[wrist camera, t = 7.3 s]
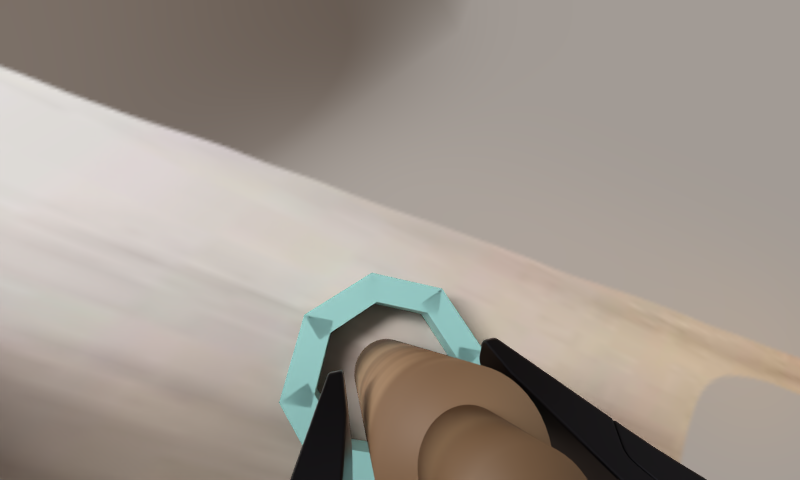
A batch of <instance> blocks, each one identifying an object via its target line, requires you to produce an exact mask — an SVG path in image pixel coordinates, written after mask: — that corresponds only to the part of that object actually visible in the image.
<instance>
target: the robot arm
mask: <svg viewBox="0 0 800 480" xmlns="http://www.w3.org/2000/svg"><path fill="white" fill-rule="evenodd" d="M479 360H480V365H482V366H485V367H489V368H492V369H494V370H496V371H498V372H501V373H502V374H504V375H505V376H507V377H509V378H510V379H511V380H513V381H514V382H515V383H516V384H517V385H519V386H520V387H521V388H522V389H523V391H524V392H525V393H526V394H527V395H528V396H529V398H530V399H531V400H532V402H533V403H534V404H535V406H536V408H537V410H538V411H539V413H540V415H541V417H542V419H543V422H544V424H545V426H546V429H547V432H548V435H549V438H550V443H551V447H553V448H555V449H557V450H558V451H560V452H561V453H563V454H565V455H566V456H567V457H568V458H569V459H571V460H572V461H573V462H574V463H575V464H576V465H577V466H578V467H579V469H580V470H581V471H582V473H583V474H584V475H585V477H586V478H587V480H706V479H705V478H703V477H701V476H700V475H698V474H697V473H695V472H693V471H692V470H690V469H688V468H686V467H685V466H683V465H682V464H680V463H679V462H677V461H675V460H674V459H672V458H671V457H669V456H667V455H666V454H664V453H663V452H661V451H659V450H658V449H656V448H655V447H653V446H652V445H650V444H649V443H647V442H646V441H644V440H643V439H641V438H640V437H638V436H637V435H635V434H634V433H632V432H631V431H629V430H628V429H626V428H625V427H624V426H622V425H621V424H619V423H618V422H616V421H613V420H612V418H610V417H609V416H608V415H606V414H605V413H603V412H602V411H600V410H599V409H598V408H596V407H595V406H593V405H592V404H590V403H589V402H587V401H586V400H585V399H583V398H582V397H580V396H579V395H577V394H576V393H575V392H573V391H572V390H570V389H569V388H567V387H566V386H564V385H563V384H562V383H560V382H559V381H557V380H556V379H554V378H553V377H551V376H550V375H549V374H547V373H546V372H544V371H543V370H541V369H540V368H539V367H537V366H536V365H534V364H533V363H531V362H530V361H528V360H527V359H526V358H524V357H523V356H521V355H520V354H518V353H517V352H516V351H514V350H513V349H511V348H510V347H508V346H507V345H505V344H504V343H503V342H501V341H500V340H498V339H496V338H491V339H486V340H484V341H483V342H482V346H481V351H480V356H479ZM290 480H353V457H352V442H351V432H350V423H349V414H348V405H347V396H346V387H345V380H344V373H343V371H342V370H338V371H333V372H330V373H329V374H328V375H327V378H326V381H325V383H324V386H323V389H322V392H321V395H320V398H319V400H318V403H317V406H316V409H315V412H314V414H313V417H312V420H311V423H310V426H309V429H308V431H307V434H306V437H305V440H304V443H303V445H302V448H301V451H300V454H299V457H298V460H297V462H296V465H295V468H294V471H293V474H292V476H291V479H290Z"/></svg>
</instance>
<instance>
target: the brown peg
mask: <svg viewBox="0 0 800 480" xmlns="http://www.w3.org/2000/svg"><path fill="white" fill-rule="evenodd" d="M354 375H355V382H356V387H357V393H358V398H359V403H360V408H361V413H362V418H363V423H364V428H365V433H366V438H367V443H368V448H369V453H370V458H371V463H372V468H373V473H374V478H375V480H587V478H586V477H585V475H584V474H583V473H582V471H581V470H580V469H579V467H578V466H577V465H576V464H575V463H574V462H573V461H572V460H571V459H569V458H568V457H567V456H566V455H565V454H563V453H561V452H560V451H558V450H557V449H555V448H553V447H551V443H550V438H549V435H548V432H547V429H546V426H545V424H544V422H543V419H542V417H541V415H540V413H539V411H538V410H537V408H536V406H535V404H534V403H533V402H532V400H531V399H530V398H529V396H528V395H527V394H526V393H525V392H524V391H523V389H522V388H521V387H520V386H519V385H517V384H516V383H515V382H514V381H513V380H511V379H510V378H509V377H507V376H505V375H504V374H502V373H501V372H498V371H496V370H494V369H492V368H489V367H485V366H482V365H479V364H475V363H472V362H468V361H465V360H461V359H458V358H454V357H451V356H447V355H444V354H440V353H437V352H433V351H430V350H426V349H423V348H419V347H416V346H412V345H409V344H405V343H402V342H398V341H395V340H391V339H382V340H378V341H375V342H373V343H371V344H370V345H368V346H367V347H366V348H365V349H364V350H363V351H362V352H361V354H360V355H359V357H358V359H357V362H356V365H355V374H354Z"/></svg>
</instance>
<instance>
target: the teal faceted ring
mask: <svg viewBox="0 0 800 480" xmlns="http://www.w3.org/2000/svg"><path fill="white" fill-rule="evenodd" d="M373 304H377V305H382V306H387V307H391V308H396V309H401V310H405V311H410V312H415V313H419V314H421V315H422V316H423V318H424V319H425V321H426V322H427V324H428V325H429V327H430V329H431V330H432V332H433V333H434V335H435V336H436V338H437V339H438V341H439V342H440V344H441V345H442V347H443V348H444V350H445V352H446V353H447V355H448V356H451V357H454V358H458V359H461V360H465V361H468V362H472V363H475V364H479V365H480V360H479V356H480V351H481V346H480V345H479V343H478V342H477V340H476V339H475V337H474V336H473V334H472V333H471V331H470V330H469V328H468V327H467V325H466V324H465V322H464V321H463V319H462V318H461V316H460V315H459V313H458V312H457V310H456V309H455V307H454V306H453V304H452V303H451V301H450V300H449V298H448V297H447V295H446V294H445V292H444V291H443V289H441V288H437V287H432V286H428V285H423V284H419V283H415V282H410V281H406V280H401V279H397V278H393V277H388V276H384V275H379V274H375V273H371V274H369V275H368V276H366V277H364V278H363V279H361V280H359V281H358V282H356V283H355V284H353V285H351V286H350V287H348V288H347V289H345V290H343V291H342V292H340V293H339V294H337V295H335V296H334V297H332V298H331V299H329V300H327V301H326V302H324V303H323V304H321V305H319V306H318V307H316V308H315V309H313V310H311V311H310V312H308V313H307V314H305V315H304V318H303V321H302V325H301V328H300V332H299V335H298V339H297V342H296V346H295V349H294V353H293V356H292V360H291V363H290V367H289V370H288V374H287V377H286V381H285V384H284V388H283V391H282V395H281V398H280V402H279V403H280V405H281V407H282V409H283V411H284V413H285V414H286V416H287V418H288V420H289V422H290V424H291V425H292V427H293V429H294V431H295V433H296V435H297V436H298V438H299V440H300V442H301V444H302V445H303V443H304V440H305V437H306V434H307V431H308V429H309V426H310V423H311V420H312V417H313V414H314V412H315V409H316V406H317V403H318V400H319V398H320V395H321V394H320V393H319V391H318V389H317V386H318V382H319V378H320V374H321V370H322V366H323V362H324V358H325V355H326V351H327V347H328V343H329V339H330V335H331V332H333V331H334V330H336V329H337V328H339V327H340V326H342V325H343V324H345V323H346V322H348V321H349V320H351V319H352V318H354V317H355V316H357V315H358V314H360V313H361V312H363V311H364V310H366V309H367V308H369V307H370V306H372V305H373ZM351 442H352V457H353V480H375V478H374V473H373V468H372V463H371V458H370V453H369V448H368V443H367V441H362V440H356V439H351Z"/></svg>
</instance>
